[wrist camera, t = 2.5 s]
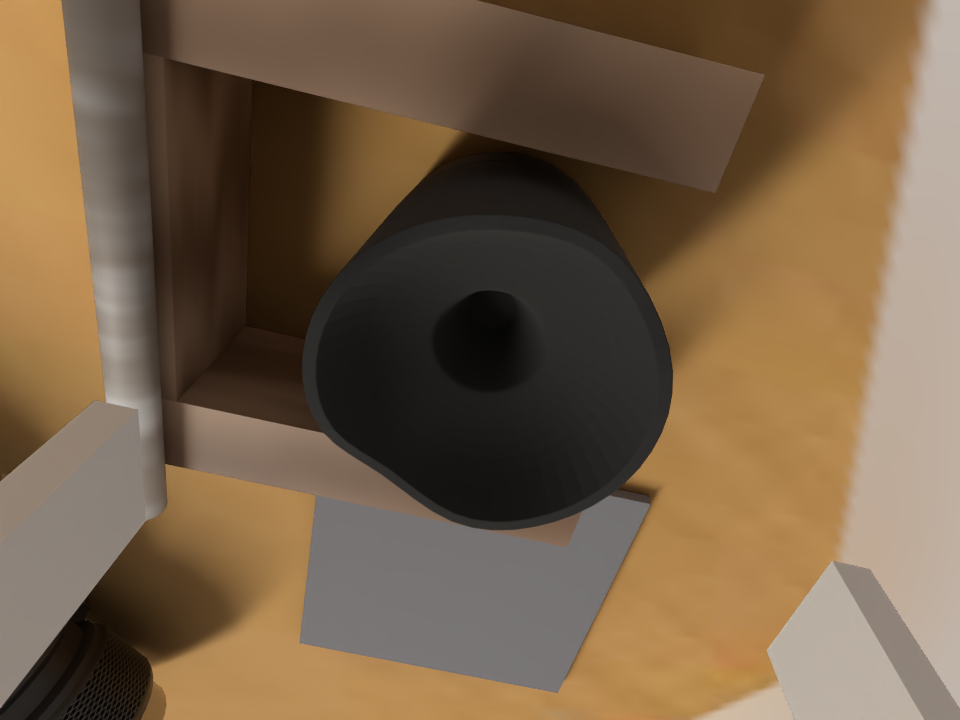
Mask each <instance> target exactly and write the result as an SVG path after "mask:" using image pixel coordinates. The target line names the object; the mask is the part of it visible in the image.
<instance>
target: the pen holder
mask: <svg viewBox="0 0 960 720" xmlns="http://www.w3.org/2000/svg"><path fill="white" fill-rule="evenodd" d="M302 376H303V384H304V390H305V396H306V400H307V402H308V405H309V408H310V411H311V413H312V416H313V418H314V419H315V421H316V422H317V424H318V426H319V427H320V429H321V430H322V432H323V433H324V434H325V435H326V436H327V437H328V438H329V439H330V440H331V441H332V442H333V443H334V444H335V445H337V446H338V447H340V448H341V449H342V450H344V451H345V452H347V453H348V454H350V455H351V456H353V457H354V458H356V459H357V460H359V461H361V462H362V463H364V464H366V465H367V466H369V467H370V468H372V469H373V470H375V471H377V472H378V473H380V474H381V475H383V476H384V477H385V478H387V479H388V480H389V481H391V482H392V483H393V484H395V485H396V486H397V487H399V488H400V489H401V490H403V491H404V492H405V493H407V494H408V495H409V496H411V497H412V498H413V499H415V500H416V501H418V502H419V503H421V504H422V505H424V506H425V507H427V508H428V509H430V510H431V511H432V512H434V513H436V514H438V515H440V516H442V517H444V518H446V519H448V520H450V521H452V522H455V523H458V524H461V525H465V526H468V527H471V528H478V529H486V530H517V529H524V528H531V527H537V526H541V525H545V524H549V523H553V522H556V521H559V520H562V519H565V518H567V517H570V516H573V515H575V514H577V513H579V512H581V511H584V510H586V509H588V508H590V507H592V506H594V505H595V504H597V503H598V502H600V501H601V500H603V499H605V498H606V497H608V496H609V495H611V494H612V493H613V492H614V491H616V490H617V489H618V488H619V487H621V486H622V485H623V484H624V483H626V481H627V480H628V479H629V478H630V477H631V476H632V475H633V474H634V473H635V472H636V471H637V470H638V469H639V468H640V467H641V465H642V464H643V463H644V461H645V460H646V458H647V457H648V456H649V454H650V453H651V452H652V450H653V448H654V446H655V444H656V443H657V441H658V439H659V437H660V435H661V433H662V431H663V428H664V425H665V422H666V420H667V417H668V414H669V409H670V403H671V398H672V386H673V369H672V363H671V356H670V349H669V345H668V342H667V338H666V335H665V332H664V329H663V326H662V322H661V320H660V318H659V316H658V314H657V311H656V309H655V307H654V305H653V303H652V301H651V298H650V296H649V294H648V293H647V291H646V289H645V288H644V286H643V284H642V282H641V281H640V279H639V277H638V276H637V274H636V272H635V271H634V269H633V267H632V266H631V264H630V262H629V260H628V259H627V257H626V255H625V254H624V252H623V250H622V249H621V247H620V245H619V243H618V242H617V240H616V238H615V237H614V235H613V233H612V232H611V230H610V228H609V227H608V225H607V223H606V222H605V220H604V219H603V217H602V216H601V214H600V213H599V211H598V210H597V208H596V207H595V205H594V204H593V202H592V201H591V199H590V198H589V196H588V195H587V194H586V193H585V192H584V191H583V190H582V188H581V187H580V186H579V185H578V184H577V183H576V182H575V181H573V180H572V179H571V178H570V177H569V176H568V175H566V174H565V173H563V172H562V171H560V170H559V169H557V168H556V167H554V166H552V165H550V164H548V163H546V162H544V161H541V160H539V159H536V158H533V157H530V156H526V155H522V154H516V153H510V152H488V153H479V154H474V155H470V156H466V157H462V158H460V159H457V160H455V161H452V162H450V163H447V164H446V165H444V166H442V167H441V168H439V169H437V170H435V171H434V172H432V173H431V174H430V175H429V176H427V177H426V178H425V179H424V180H422V181H421V182H420V183H419V184H418V185H417V186H416V187H415V188H414V189H413V190H412V191H411V192H410V193H409V194H408V195H407V196H406V197H405V198H404V199H403V200H402V201H401V202H400V203H399V204H398V205H397V207H396V208H395V209H394V210H393V211H392V212H391V214H390V215H389V216H388V217H387V218H386V219H385V220H384V222H383V223H382V224H381V225H380V226H379V227H378V229H377V230H376V231H375V232H374V233H373V234H372V236H371V237H370V238H369V239H368V240H367V241H366V242H365V244H364V245H363V246H362V247H361V248H360V249H359V251H358V252H357V253H356V254H355V255H354V256H353V258H352V259H351V260H350V261H349V262H348V263H347V265H346V266H345V267H344V268H343V269H342V270H341V271H340V273H339V274H338V275H337V276H336V278H335V279H334V280H333V282H332V283H331V285H330V286H329V287H328V289H327V290H326V292H325V293H324V295H323V296H322V297H321V300H320V302H319V304H318V306H317V308H316V310H315V312H314V314H313V316H312V318H311V321H310V324H309V328H308V331H307V334H306V337H305V344H304V350H303V357H302Z"/></svg>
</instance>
